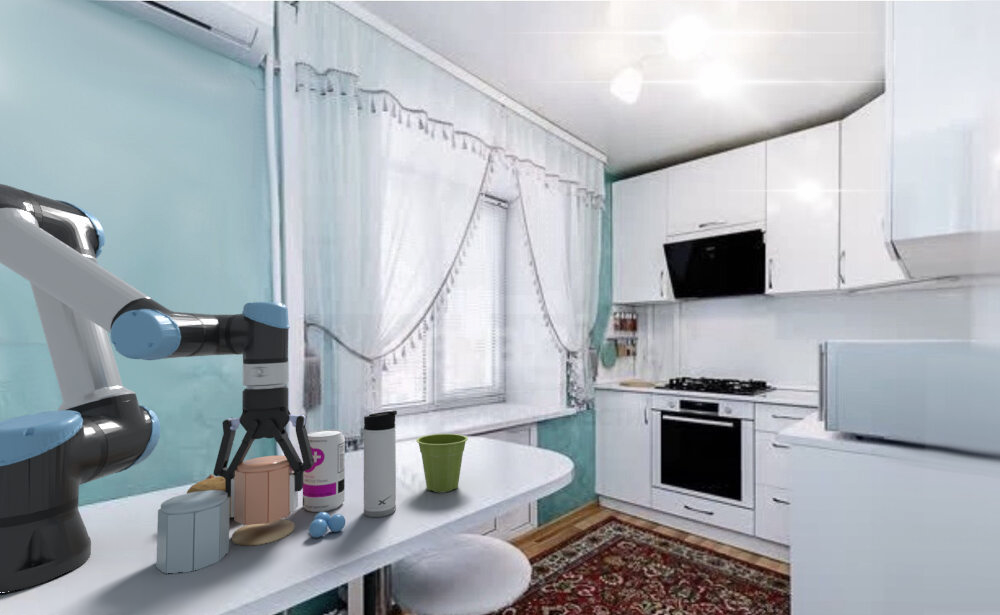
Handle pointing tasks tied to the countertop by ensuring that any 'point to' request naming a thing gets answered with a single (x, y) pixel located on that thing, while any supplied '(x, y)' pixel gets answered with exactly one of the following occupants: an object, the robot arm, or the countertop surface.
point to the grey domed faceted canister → (192, 531)
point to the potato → (210, 486)
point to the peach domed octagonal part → (262, 490)
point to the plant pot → (442, 460)
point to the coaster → (262, 532)
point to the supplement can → (325, 472)
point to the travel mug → (379, 464)
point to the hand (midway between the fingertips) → (265, 511)
